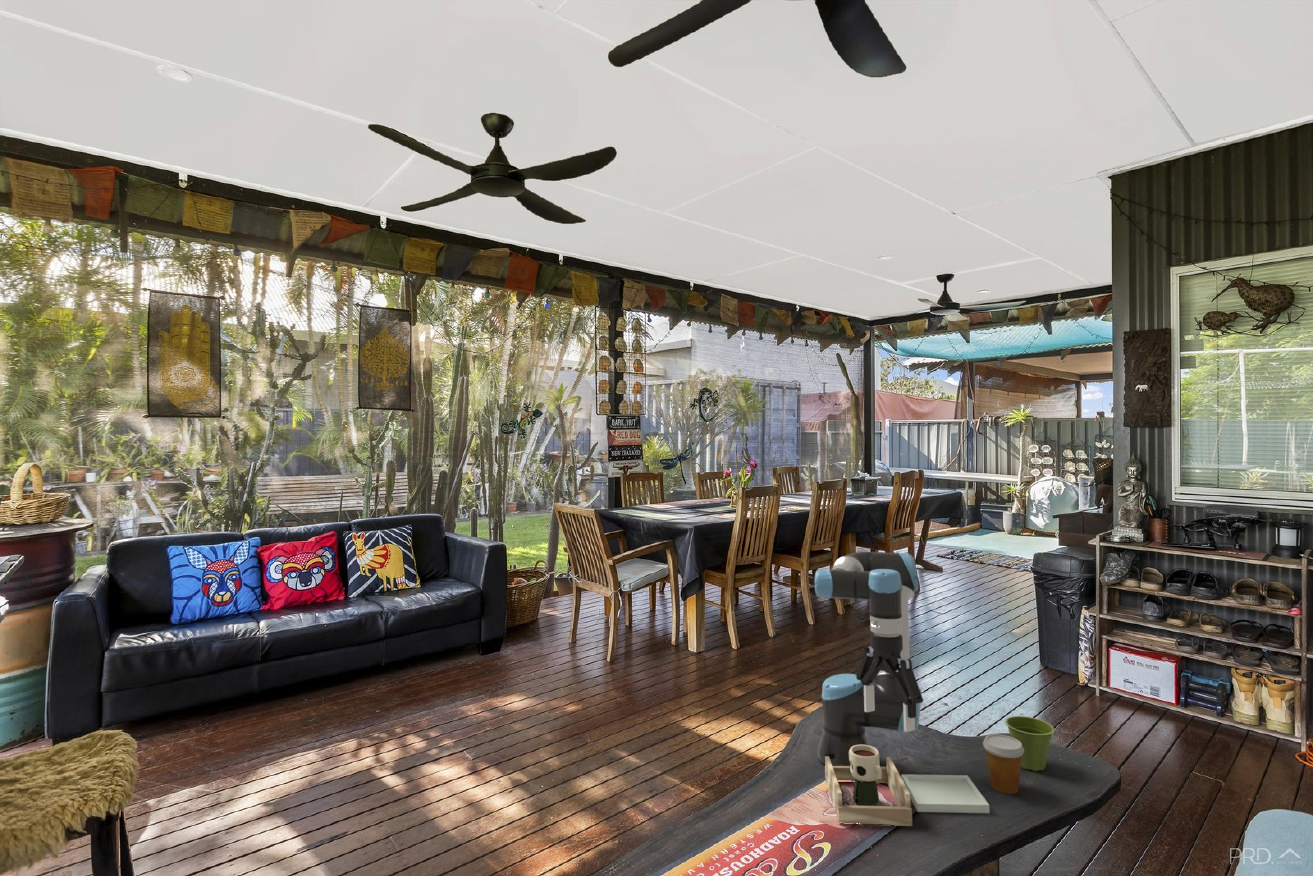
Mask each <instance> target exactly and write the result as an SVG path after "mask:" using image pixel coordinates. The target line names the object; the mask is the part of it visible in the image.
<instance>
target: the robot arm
mask: <svg viewBox="0 0 1313 876" xmlns="http://www.w3.org/2000/svg"><path fill="white" fill-rule="evenodd" d="M915 562H916V561H915V558H914V556H913V555H912V554H911V553H904V552H903V553H902V552H900V551H899V552H898V551H896V552H883V551H882V552H881V551H880V552H878V551H858V552H852V553H849V554H846V555H843V556H841V557H839V558H838V559H837V560H836V561H834V563H833V566H832V568H831V569H827V568H825V569H817V570H816V571H815V573H814V591H815V595H816V596H817V597H819V598H826V599H828V600H829V599H841V600H843V599H844V600H845V599H846V600H858V601H869V621H870V624H869V625H870V626H869V627H870V629H869V630H870V631H871V633H870V634H869V635H870V646H865V647H864V648H863V656H862V659H861V662H860V664H859V667H858V670H857V673H856V674H854V673H840V674H835V675H831V676H828V678H826V679H825V680H824V681H823V683H822V687H821V688H822V693H821V701H822V723H823V724H822V727H823V731H822V733H821V735H820V736H821V737H820V739H819V743H818V747H817V758H818V757H819V759H820V760H821V761H822V762H823V763H824V764H825V757H829V758H830V761H831V764H832V766H850V761H849V750H850V749H851V747H852V746H854V745H869V746H871V745H870V743H869V739H868V737H867V734H866V728H872V729H873V728H874V729H878V730H879V729H880V730H887V731H895V732H898V733H901V732H904V733H914V732H916V731H917V730H918V728H919V725H920V724H919V723H920V716H921V705H922V704H923V702H924V699H923V696H922V689H921V688H920V687H919V684H918V681H917V679H916V676H915V673H914V671H913V664H912V663H913V662H912V660H911V659H910V621H909V620H910V619H909V618H910V615H909V613H910V612H909V600H911V599H913V598H914V593H915V592H918V590H919V581H918V576H917V575H918V574H917V568H916V563H915ZM819 759H818V760H819ZM824 764H823V765H824Z"/></svg>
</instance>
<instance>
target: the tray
mask: <svg viewBox="0 0 1313 876" xmlns="http://www.w3.org/2000/svg"><path fill="white" fill-rule="evenodd" d="M900 776H901V778H902V780H903V782H904V784H905V786H906V787H907V789H908V791H909V793H910V801H911V802H912V803H913V806H914V808H915V809H916V812H917V813H952V814H953V813H957V814H959V813H960V814H961V813H963V814H990V804H989V803H988V801H987V800H986V799H985V796H983V795H982V793H981V791H979V789H978V788H977V787H976V785H975V783H974V782H973V780H971V778H970V776H969V775H963V774H959V775H957V774H954V775H953V774H907V773H906V774H905V773H904V774H903V773H902V774H901V775H900Z"/></svg>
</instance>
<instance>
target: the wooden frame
mask: <svg viewBox="0 0 1313 876" xmlns="http://www.w3.org/2000/svg"><path fill="white" fill-rule="evenodd" d="M885 761H886V766H880V767H881V769H882V778H881V779H877V780H875V781H876V784H879V783H886V785H887V786H888V788H889V790H890V792H891V794H892V796H893V798H895V799H894V801H895V802H896V805H897V806H894V805H893V806H892V805H888V806H886V805H885V806H884V805H873V806H862V805H847V804H846V805H843V800H842V799H843V793H842V790H841V786H840V783H838V780H851V781H855V778H854V777H853V776H852V774H851V771H850V766H832V764H831V761H830V758H829V757H825V765H824V775H825V776H824V778H825V779H826V781H825V783H827V784H826V786H827V785H828V787H827V789H828V788H829V791H828V792H830V794H829V796H830V795H831V797H830V799H831V798H832V800H831V802H832V801H833V803H832V805H833V804H834V806H833V808H834V807H835V810H836V813H835V815H836V814H837V816H836V818H837V817H838V819H837V821H838V820H839V822H843V823H855V824H856V823H858V824H859V823H860V824H862V823H863V824H891V825H894V827H895V826H897V827H899V826H900V827H901V826H902V827H905V826H906V827H913V812H912V811H913V809H912V806H911V799H910V793H909V791H908V789H907V787H906V786H905V784H904V782H903V780H902V778H901V775H900V773H899V771H898V769H897V767H896V766H895V764H894V762H893V760H892V758H891V757H889V756H888V757H887V756H886V760H885ZM825 779H824V780H825ZM835 810H834V811H835ZM839 822H838V823H839ZM891 825H890V826H891Z"/></svg>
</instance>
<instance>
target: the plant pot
mask: <svg viewBox="0 0 1313 876" xmlns="http://www.w3.org/2000/svg"><path fill="white" fill-rule="evenodd" d="M1004 722H1005V724H1006V726H1007V728H1008V732H1009V735H1010V737H1013V738H1015V739H1017V740H1019V741H1020V742H1021V744H1022V747H1023V748H1024V753H1023V755H1022V760H1021V769H1023V770H1024V769H1025V770H1032V771H1033V772H1038V771H1037V770H1041V769H1044V768H1045V769H1046V764H1047V760H1048V759H1047V758H1048V752H1049V748H1050V741H1051V740H1052V737H1053V736H1052V735H1053V734H1054V733H1055V728H1054V726H1053V725H1052V724H1050V723H1049V722H1046V721H1044V720H1042V719H1039V718H1035V717H1031V716H1025V715H1013V716H1008V717H1007V718H1005V721H1004ZM1045 769H1044V770H1045ZM1041 771H1042V770H1041Z"/></svg>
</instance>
